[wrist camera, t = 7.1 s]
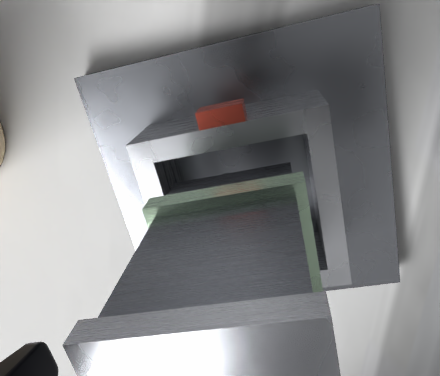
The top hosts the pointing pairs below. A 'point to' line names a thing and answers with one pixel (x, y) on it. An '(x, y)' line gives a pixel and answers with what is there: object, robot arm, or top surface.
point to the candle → (2, 144)
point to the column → (217, 287)
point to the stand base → (264, 130)
